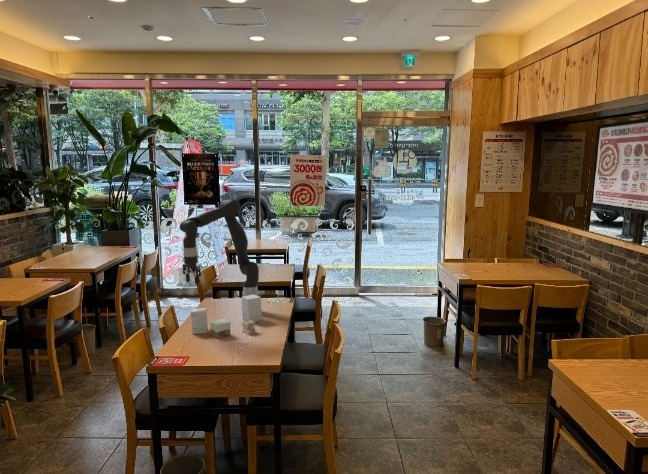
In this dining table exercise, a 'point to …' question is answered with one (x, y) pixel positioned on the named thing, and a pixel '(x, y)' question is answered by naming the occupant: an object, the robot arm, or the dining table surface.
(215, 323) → the sage slab
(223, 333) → the walnut slab
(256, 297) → the supplement box
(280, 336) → the dining table surface
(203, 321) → the small box
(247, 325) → the maple block
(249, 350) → the dining table surface
